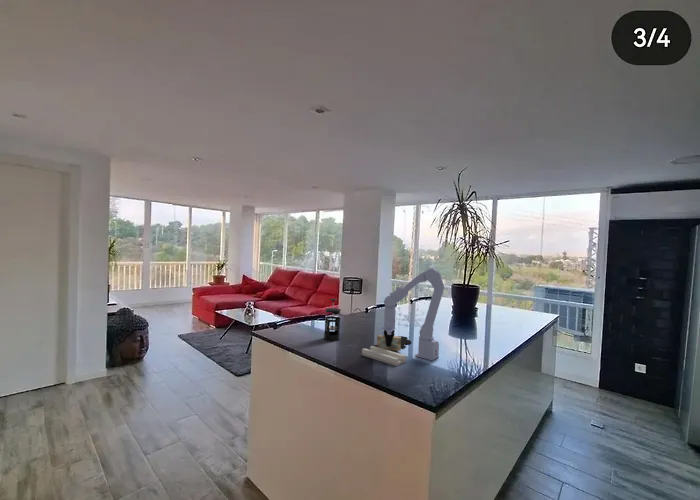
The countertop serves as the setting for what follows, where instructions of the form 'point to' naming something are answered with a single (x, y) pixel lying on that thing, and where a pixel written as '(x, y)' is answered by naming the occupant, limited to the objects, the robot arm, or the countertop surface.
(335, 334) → the french press
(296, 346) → the countertop surface
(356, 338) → the countertop surface
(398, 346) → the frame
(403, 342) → the figurine
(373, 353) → the ledge
